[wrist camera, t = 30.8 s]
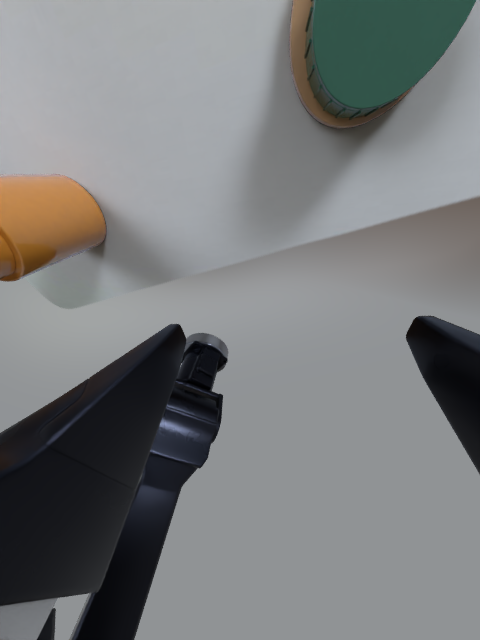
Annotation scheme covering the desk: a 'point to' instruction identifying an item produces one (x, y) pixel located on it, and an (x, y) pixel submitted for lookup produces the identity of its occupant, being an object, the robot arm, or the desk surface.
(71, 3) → the desk surface
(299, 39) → the coaster
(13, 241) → the honey jar
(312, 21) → the jar lid
